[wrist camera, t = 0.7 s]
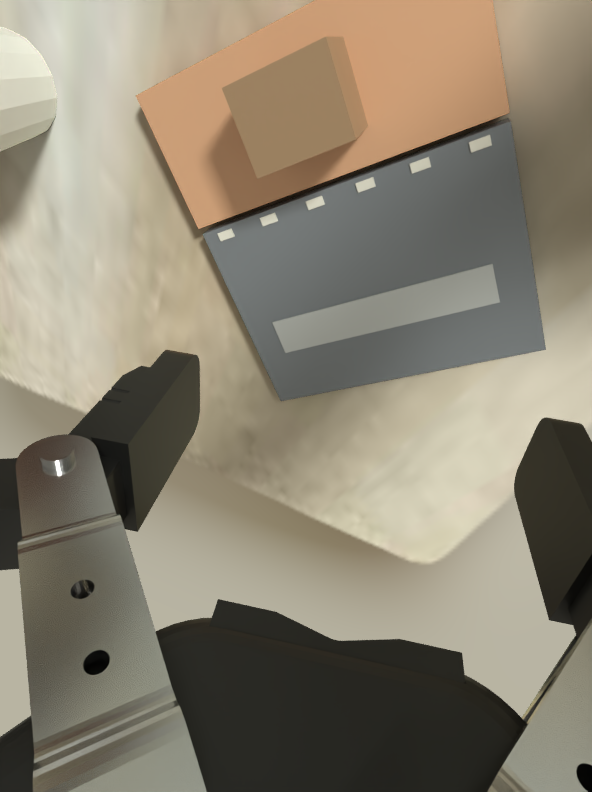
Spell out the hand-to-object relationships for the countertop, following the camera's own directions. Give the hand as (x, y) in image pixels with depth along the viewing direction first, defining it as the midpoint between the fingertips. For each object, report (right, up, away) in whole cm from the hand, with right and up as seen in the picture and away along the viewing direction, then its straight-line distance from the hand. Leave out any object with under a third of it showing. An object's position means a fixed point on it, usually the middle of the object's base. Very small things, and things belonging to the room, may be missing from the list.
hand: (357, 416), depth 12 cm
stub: (0, +16, +15) cm, 22 cm away
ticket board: (+3, +8, +20) cm, 22 cm away
